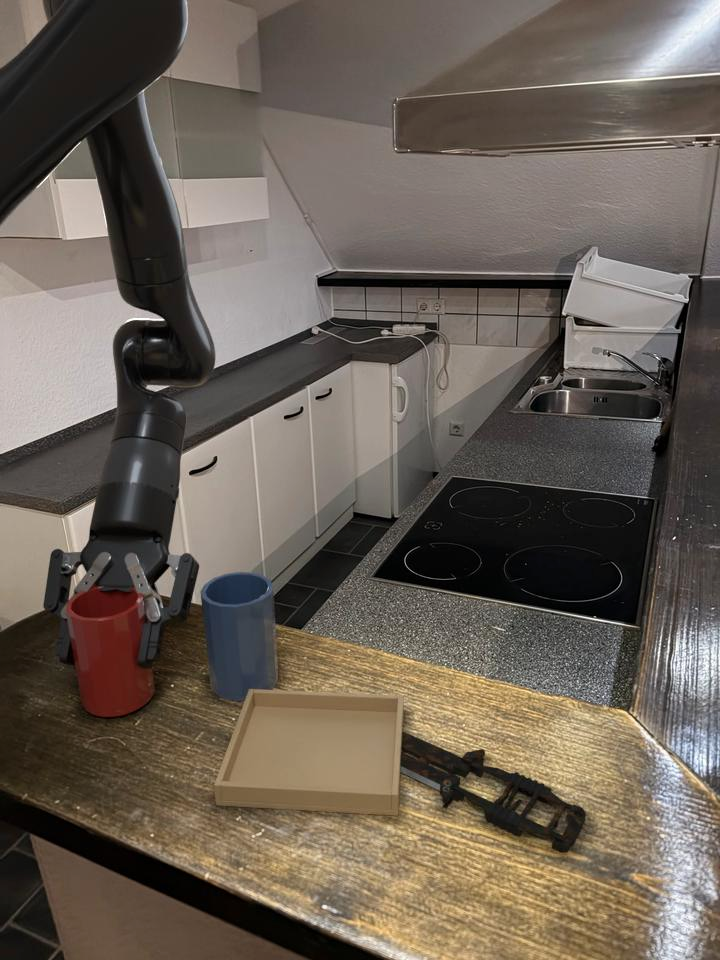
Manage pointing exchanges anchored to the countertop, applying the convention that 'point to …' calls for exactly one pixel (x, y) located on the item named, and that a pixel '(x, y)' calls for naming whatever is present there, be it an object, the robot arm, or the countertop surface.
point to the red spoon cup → (109, 651)
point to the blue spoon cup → (240, 634)
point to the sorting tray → (314, 753)
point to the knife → (493, 811)
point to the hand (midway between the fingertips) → (106, 665)
